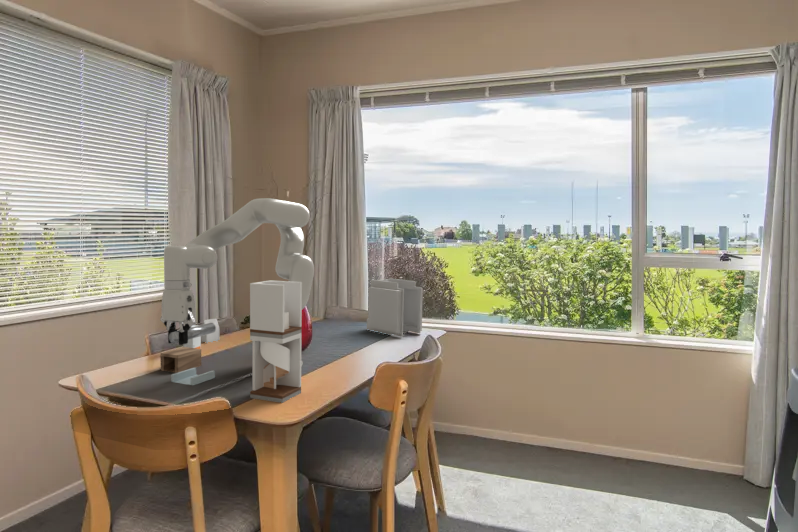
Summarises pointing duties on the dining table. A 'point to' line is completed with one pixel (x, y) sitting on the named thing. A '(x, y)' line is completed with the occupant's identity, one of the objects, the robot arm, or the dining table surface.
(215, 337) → the light grey block
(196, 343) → the skincare box
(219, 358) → the dining table surface
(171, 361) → the hollow wooden box
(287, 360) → the spiral staircase model
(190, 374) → the cradle
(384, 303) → the grey file holder
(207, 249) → the robot arm
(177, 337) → the axle
